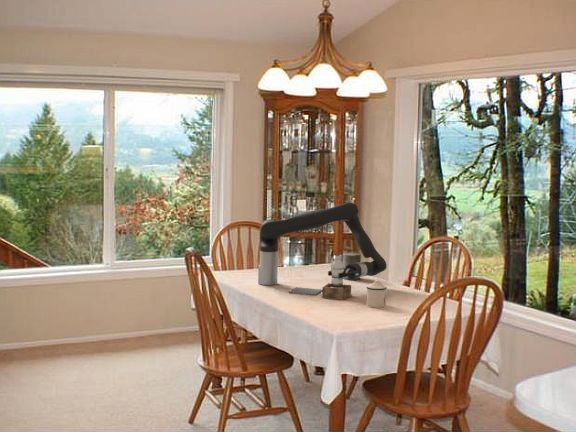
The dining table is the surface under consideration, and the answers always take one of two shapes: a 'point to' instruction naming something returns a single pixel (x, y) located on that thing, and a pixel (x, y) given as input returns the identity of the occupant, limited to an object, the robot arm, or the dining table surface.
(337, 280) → the silver aluminum bottle
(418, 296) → the dining table surface
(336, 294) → the walnut sleeve
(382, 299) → the teacup with lid
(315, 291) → the rubber mat
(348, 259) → the pillar candle
